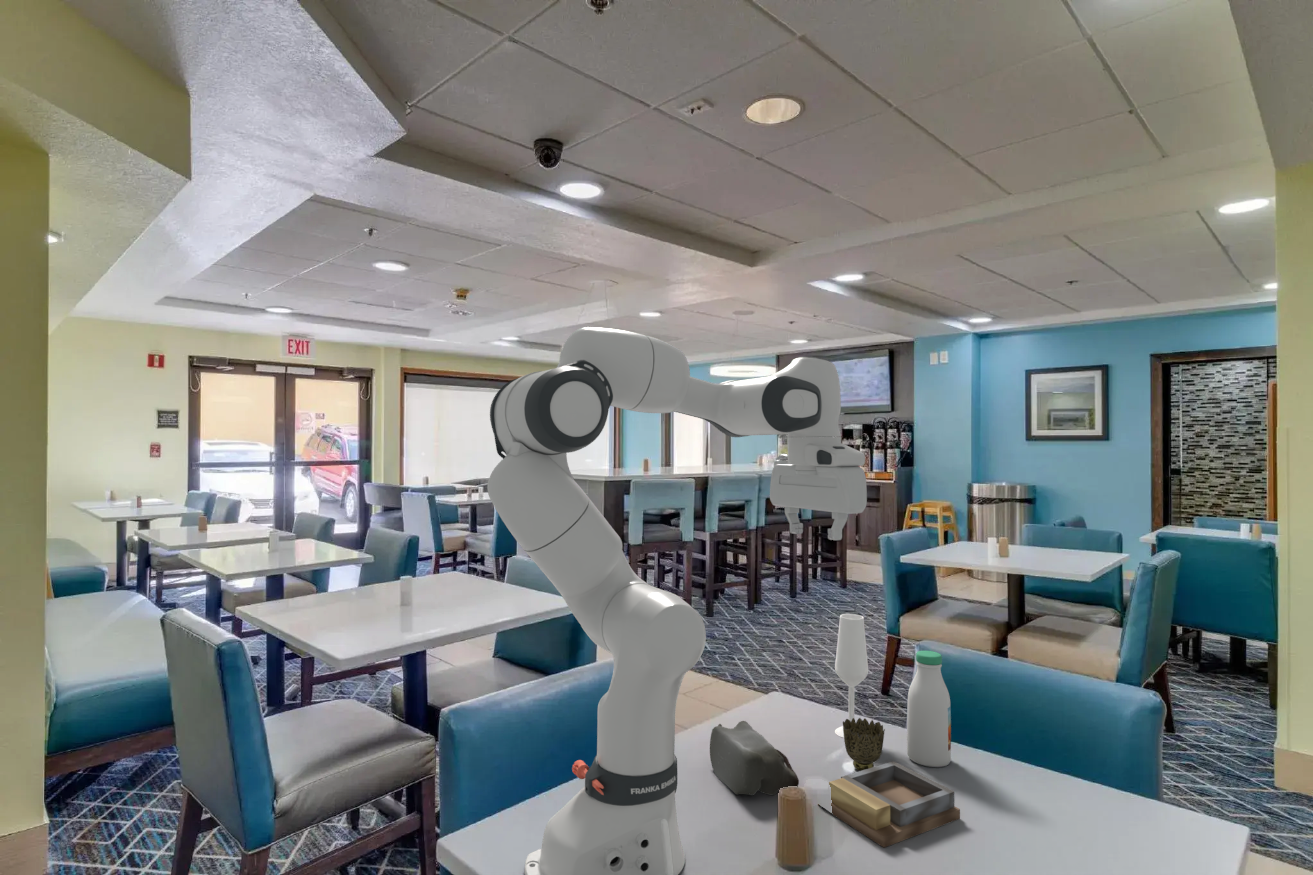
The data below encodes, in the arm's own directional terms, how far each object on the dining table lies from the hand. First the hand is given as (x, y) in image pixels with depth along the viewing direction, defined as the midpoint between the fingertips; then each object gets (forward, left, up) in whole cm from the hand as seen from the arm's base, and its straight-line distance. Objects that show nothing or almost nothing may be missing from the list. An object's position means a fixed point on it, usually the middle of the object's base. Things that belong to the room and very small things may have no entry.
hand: (815, 536), depth 118 cm
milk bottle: (+30, +1, -44) cm, 53 cm away
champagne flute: (+26, +17, -44) cm, 54 cm away
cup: (+16, +4, -44) cm, 47 cm away
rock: (-5, +11, -44) cm, 46 cm away
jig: (+8, -9, -44) cm, 45 cm away
